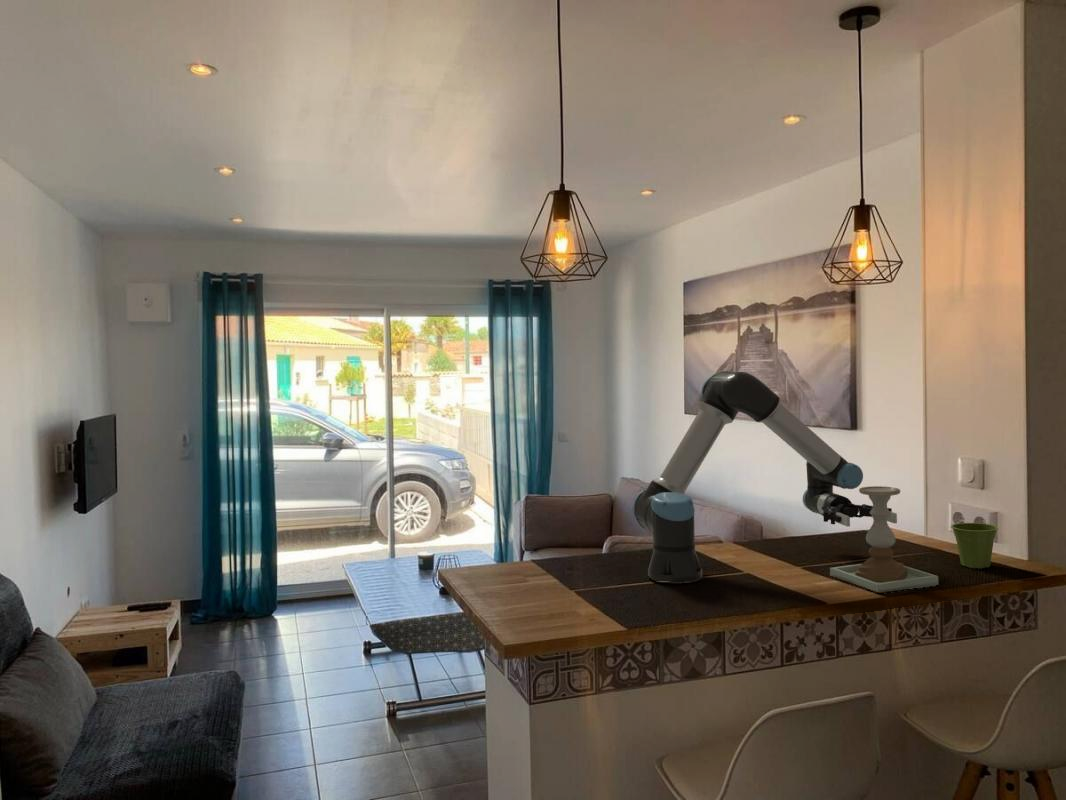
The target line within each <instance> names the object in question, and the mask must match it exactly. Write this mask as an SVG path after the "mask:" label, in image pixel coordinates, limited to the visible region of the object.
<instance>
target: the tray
mask: <svg viewBox="0 0 1066 800" xmlns="http://www.w3.org/2000/svg"><path fill="white" fill-rule="evenodd" d="M861 564H862V563H857V564H849V565H843V566H834V567H829V577H830V576H833V577H836V578H838V579H841V580H844V581H847V582H850V583H853V584H856V585H859V586H862V587H865V588H867V589H870V590H873V591H876V592H885V591H893V590H902V589H911V590H914V589H913V588H918V589H924V588H923V587H925V588H930V586H932V587H937V586H936V585H938V586H939V576H938V575H937V574H936V575H935V574H932V573H929V572H926V571H923V570H920V569H916V568H914V567H910V566H906V565H904V568H907V572H908V576H907V577H906V578H905V579H904V580H898V581H891V582H883V583H879V582H873V581H870V580H867V579H865V578H862V577H859V576H856V575H855V572H856V571H858V570H859V566H860V565H861Z"/></svg>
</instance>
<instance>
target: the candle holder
mask: <svg viewBox="0 0 1066 800" xmlns="http://www.w3.org/2000/svg"><path fill="white" fill-rule="evenodd" d="M900 489H901V488H897V487H892V486H883V485H882V486H877V485H875V486H863V487H860V488H859V489H858V492H859V493H860V494H861V495H866V496H868V499H869V501H871V502H872V506H873V507H872V510H871V511H870V514H871V515H872V517H871V518H872V520H873V522H872V525H871V526H870V528H869V530H867V533H866V534H865V536H866V537H865V540H866V543H868V545H870V546H871V547H870V548H869V549H868V554H869V555H870V557H869V558H867V559H866V560H865V561H864V562H863V563H860V564H861V565H860V566H859V570H858V571H856V572H855V575H856V576H859V577H862V578H865V579H867V580H870V581H873V582H879V583H883V582H891V581H898V580H904V579H905V578H906V577H907V576H908V572H907V568H904V566H905V564H904V563H902V562H897V561H896V560H895V559H893V558H892V557H893V556H894V551H893V548H891V547H892V546H893V545H894V544H895V543H896V536H895V534H894V532H893V530H892V529H891V527H890V526H889V524H888V521H887V519H888V517H889V515H890V514H891V513H890V511H889V510H888V508H889V507H888V502H889V501H890V500H891V496H897V495H900V494H901V490H900Z"/></svg>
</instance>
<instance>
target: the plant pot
mask: <svg viewBox="0 0 1066 800" xmlns="http://www.w3.org/2000/svg"><path fill="white" fill-rule="evenodd" d="M950 528H951V529H952V530H953V534H954V536H955V540H956V546H957V549H958V556H959V560H960V565H961V566H962V565H963V566H962V567H967V568H970V569H977V568H978V569H979V570H981V569H984V568H990V566H991V562H992V561H991V560H992V554H993V548H994V547H993V546H994V540H995V538H996V534H997V533H996V532H997V531H998V530H999V526H997V525H994V524H988V523H982V522H958V523H953V524H951V525H950ZM978 569H977V570H978Z"/></svg>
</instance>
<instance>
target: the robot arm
mask: <svg viewBox="0 0 1066 800" xmlns="http://www.w3.org/2000/svg"><path fill="white" fill-rule="evenodd" d="M697 404H698V408H699V411H698V412H697V414H696V415H695V417H694V419H693V421H692V423H691V424H690V426H689V428H688V429H687V431H686V432H685V434H684V436H683V438H682V439H681V441H680V443H679V444H678V446H677V448H676V449H675V451H674V453H673V455H671V458H670V459H669V461H668V463H667V464H666V466H665V468H663V469H664V470H663V472H662V473H661V474H660V477H658V478H655V479H652V480H651V481H650V482H649V484H648V486H647V488H646V489H644V490H643V491H641V492H639V493H638V494H637V495H636V496H635V498H634V500H633V502H632V515H633V518H634V520H635V522H636V523H637V524H638V525H639V526H640V527H641V528H643V529H645V530H646V531H649V532H650V533H652V547H653V550H652V555H651V557H650V562H649V566H648V569H647V577H648V576H649V577H650V578H652V579H656V580H660V581H669V582H670V581H671V582H685V581H693V580H697V579H700V578H701V577H702V578H703V569H702V566H701V564H700V560H699V557H698V555H697V553H696V544H695V542H696V539H695V538H696V536H695V535H696V534H695V505H694V500H693V498H691V497H690V496H689V495H688V494H685V493H686V491H687V489H688V487H689V486H690V484H691V482H692V481H693V479H694V477H695V475H696V474H697V472H698V471H699V469H700V467H701V465H702V463H703V462H704V460H706V457H707V456H708V454H709V452H710V451H711V450H712V449H711V448H712V447H713V446H714V444H715V442H716V440H717V438H718V437H719V435H720V434H721V432H722V430H723V429H724V426H725V425H728V424H731V423H733V422H734V420H735V418H736V417H737V415H738V413H742V414H744V415H747V416H748V417H749V418H751V419H752V420H754V421H755V422H756V423H762V424H764V425H765V426H766V427H767V428H768V429H769V430H771V432H773V433H774V434H775V435H776V436H778V437H779V438H780V439H781V440H782V441H784V442H785V444H787V445H788V446H789V447H790V448H791V449H793V450H794V451H795V452H796V453H798V455H799V456H800V457H802V458H803V459H804V460H805V461H806V463H805V465H806V482H807V487H806V488H807V489H805V491H804V493H803V495H802V503H803V505H804V507H805V508H806V509H807V510H810V512H812V513H814V514H818V515H821V516H822V517H823V522H824V523H827V522H829V521H830V525H835V524H836V523H838V524H839V525H842V526H844V527H847V528H848V527H851V519H850V518H863V517H867V518H873V517H872V515H871V514H870V511H871V510H872V507H873V505H869V504H865V503H863V504H855V503H852V501H851V500H850V499H849V498H848V497H846V496H844V495H840V494H839V493H834V487H838V488H841V489H843V490H844V489H845V490H846V489H847V490H854V489H856V488H859V487H860V485H861V484H862V483H863V478H864V473H863V470H862V468H861V467H860V466H859V465H857V464H855V463H852V462H848V461H847V460H846V459H845V458H844V457H842V456H841V455H840V454H839V453H838V452H837V451H836V450H834V449H833V448H832V447H831V446H830V445H829V444H827V442H825V441H824V440H823V439H822V438H820V436H818V435H817V434H816V433H815V432H814V431H813V430H812V429H811V428H809V427H808V426H807V425H806V424H805V423H804V422H803V421H801V420H800V419H799V418H798V417H797V416H796V415H795V414H794V413H793V412H792V411H790V410H789V409H788V408H786V406H784V405H783V404H782V403H781V398H780V397H779V396H778V394H776V393H775V392H774V391H773V390H772V389H771V388H770V387H768V385H766V384H765V383H764V382H762V381H761V380H760V379H759V378H758V377H757V376H754V375H753V374H750V373H748V372H745V371H725V370H724V371H719V372H716V373H713V374H711V375H710V376H709V377H707V378H706V380H705V381H704V382H703V385H702V387H701V397H700V399H699V401H698V403H697ZM887 508H888V510H889V511H890V513H891V514H890V515H889V517H888V519H887V522H888V523H889V522H890V523H892V524H898V513H896V512H893V510H892V508H890V507H887Z"/></svg>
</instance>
